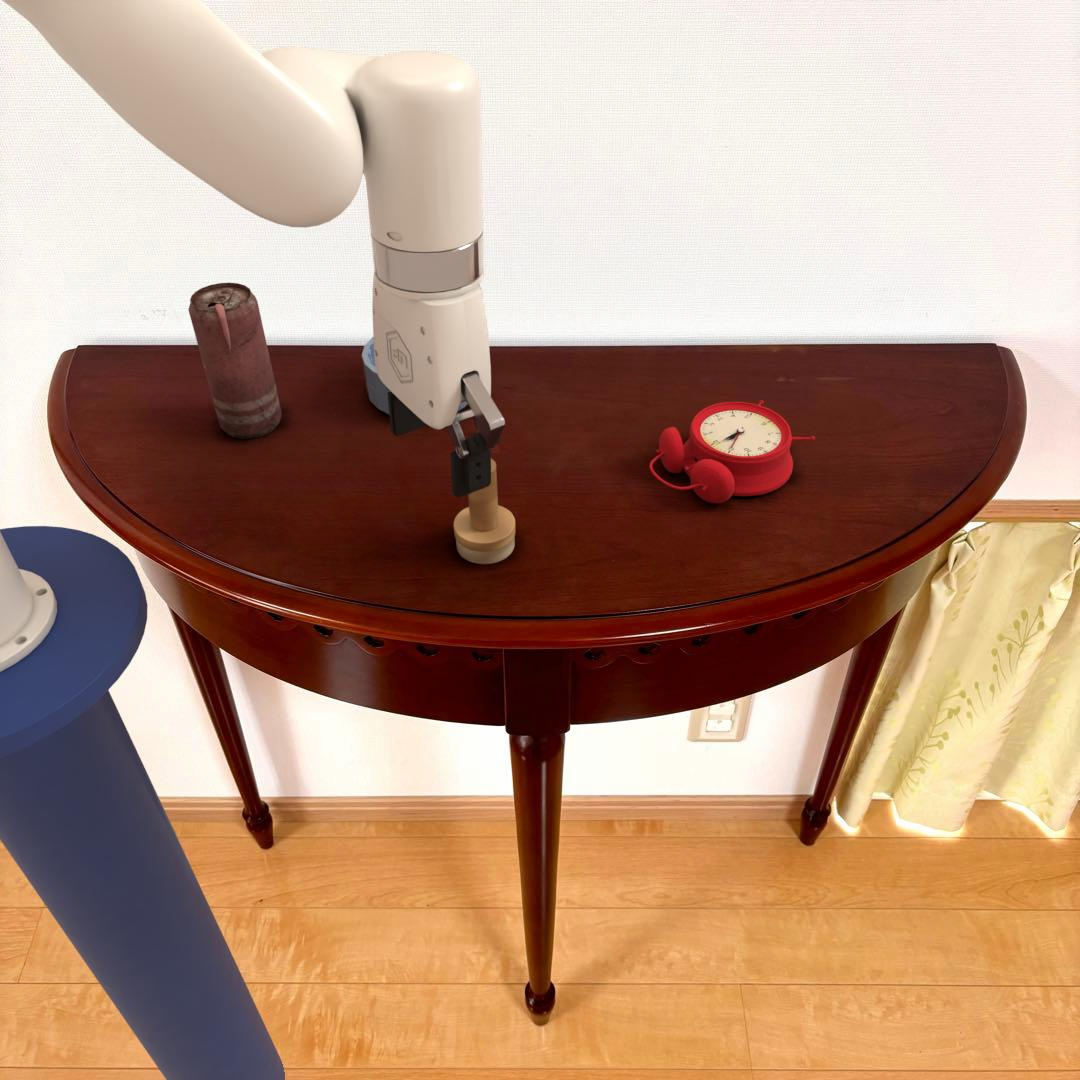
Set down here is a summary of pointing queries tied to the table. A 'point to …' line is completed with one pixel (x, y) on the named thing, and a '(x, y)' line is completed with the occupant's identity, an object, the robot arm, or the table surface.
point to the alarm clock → (730, 451)
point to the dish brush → (485, 526)
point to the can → (235, 359)
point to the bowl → (378, 380)
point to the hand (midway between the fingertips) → (439, 458)
